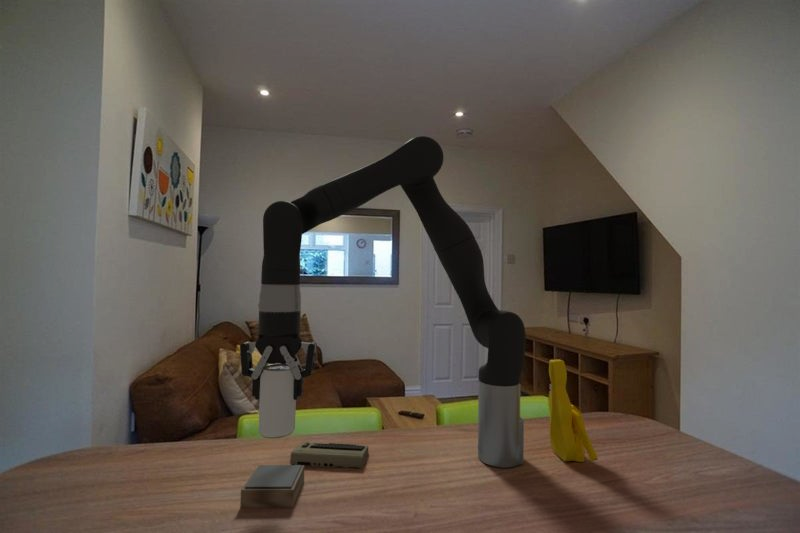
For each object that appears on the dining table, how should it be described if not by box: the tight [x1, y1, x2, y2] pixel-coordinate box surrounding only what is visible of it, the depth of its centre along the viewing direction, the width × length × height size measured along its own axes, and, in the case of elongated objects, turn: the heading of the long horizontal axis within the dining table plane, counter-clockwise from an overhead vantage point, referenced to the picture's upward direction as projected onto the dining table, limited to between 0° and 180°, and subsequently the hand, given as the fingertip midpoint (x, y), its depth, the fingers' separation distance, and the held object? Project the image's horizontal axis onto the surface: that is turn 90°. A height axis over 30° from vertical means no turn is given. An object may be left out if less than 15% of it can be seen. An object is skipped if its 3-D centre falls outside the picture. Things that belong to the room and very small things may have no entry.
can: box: [258, 363, 297, 439], centre depth 72 cm, size 6×6×12 cm
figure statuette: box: [547, 358, 599, 463], centre depth 88 cm, size 18×8×22 cm, turn 4°
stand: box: [239, 464, 306, 509], centre depth 71 cm, size 9×9×3 cm
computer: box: [289, 441, 369, 470], centre depth 85 cm, size 16×8×3 cm, turn 85°
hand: (277, 398), depth 72 cm, fingers closed on can, 6 cm apart
